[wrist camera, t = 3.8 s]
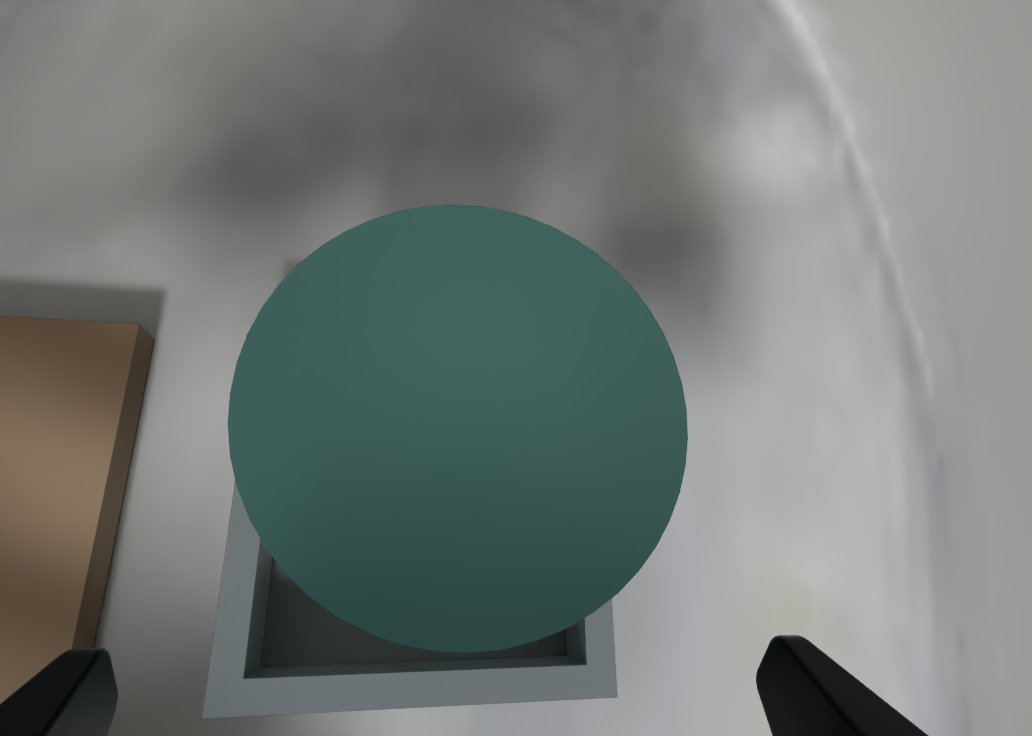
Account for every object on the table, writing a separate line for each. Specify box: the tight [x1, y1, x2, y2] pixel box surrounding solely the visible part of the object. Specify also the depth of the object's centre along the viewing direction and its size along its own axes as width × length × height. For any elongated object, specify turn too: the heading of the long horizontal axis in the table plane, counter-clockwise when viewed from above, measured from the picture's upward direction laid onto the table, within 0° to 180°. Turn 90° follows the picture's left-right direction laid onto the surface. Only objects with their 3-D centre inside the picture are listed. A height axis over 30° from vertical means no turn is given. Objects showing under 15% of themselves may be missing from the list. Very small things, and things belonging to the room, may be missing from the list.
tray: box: [202, 480, 617, 719], centre depth 18 cm, size 10×10×2 cm
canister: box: [228, 205, 688, 653], centre depth 13 cm, size 6×6×12 cm
